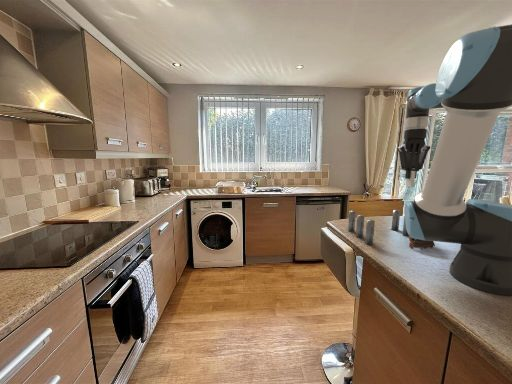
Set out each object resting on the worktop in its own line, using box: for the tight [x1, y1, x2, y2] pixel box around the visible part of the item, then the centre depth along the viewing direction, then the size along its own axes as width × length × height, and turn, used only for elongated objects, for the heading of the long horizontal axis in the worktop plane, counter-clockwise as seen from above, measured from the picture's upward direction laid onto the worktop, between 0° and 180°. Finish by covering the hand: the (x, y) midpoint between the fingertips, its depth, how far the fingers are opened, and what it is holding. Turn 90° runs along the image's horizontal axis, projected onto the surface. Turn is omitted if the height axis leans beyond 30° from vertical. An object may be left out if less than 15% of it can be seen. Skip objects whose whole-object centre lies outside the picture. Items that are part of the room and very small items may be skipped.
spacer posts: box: [347, 209, 409, 246], centre depth 100 cm, size 19×25×10 cm
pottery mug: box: [406, 230, 436, 250], centre depth 89 cm, size 12×10×8 cm
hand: (409, 186), depth 93 cm, fingers closed
